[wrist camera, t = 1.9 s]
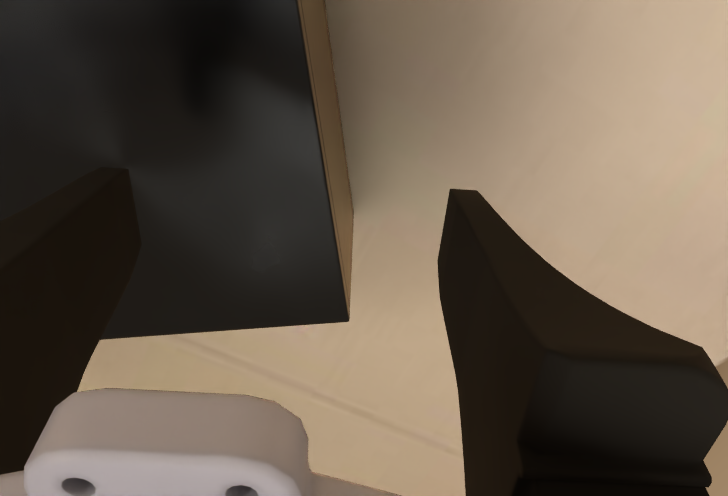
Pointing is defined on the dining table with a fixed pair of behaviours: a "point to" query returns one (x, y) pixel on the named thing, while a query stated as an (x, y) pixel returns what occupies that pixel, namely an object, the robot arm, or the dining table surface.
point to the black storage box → (190, 150)
